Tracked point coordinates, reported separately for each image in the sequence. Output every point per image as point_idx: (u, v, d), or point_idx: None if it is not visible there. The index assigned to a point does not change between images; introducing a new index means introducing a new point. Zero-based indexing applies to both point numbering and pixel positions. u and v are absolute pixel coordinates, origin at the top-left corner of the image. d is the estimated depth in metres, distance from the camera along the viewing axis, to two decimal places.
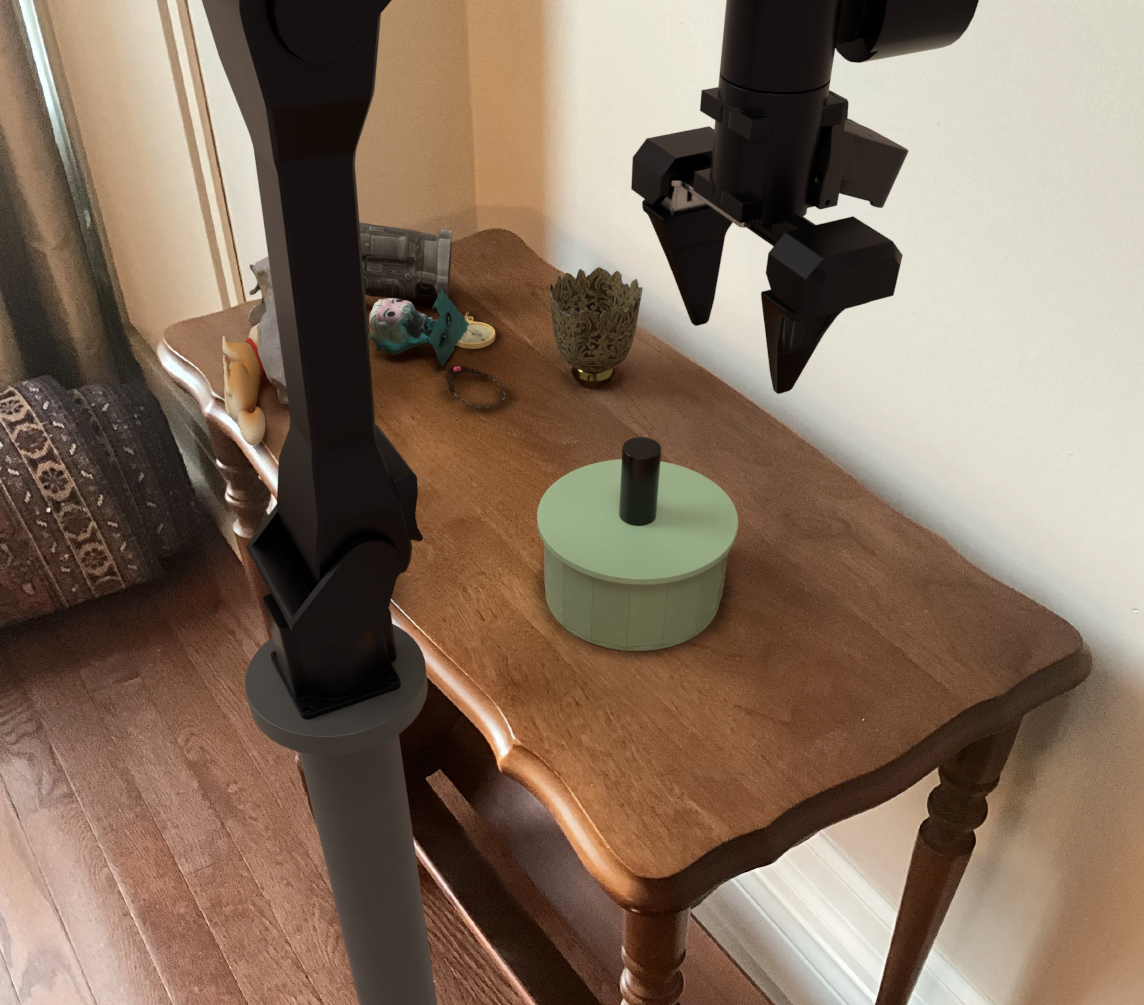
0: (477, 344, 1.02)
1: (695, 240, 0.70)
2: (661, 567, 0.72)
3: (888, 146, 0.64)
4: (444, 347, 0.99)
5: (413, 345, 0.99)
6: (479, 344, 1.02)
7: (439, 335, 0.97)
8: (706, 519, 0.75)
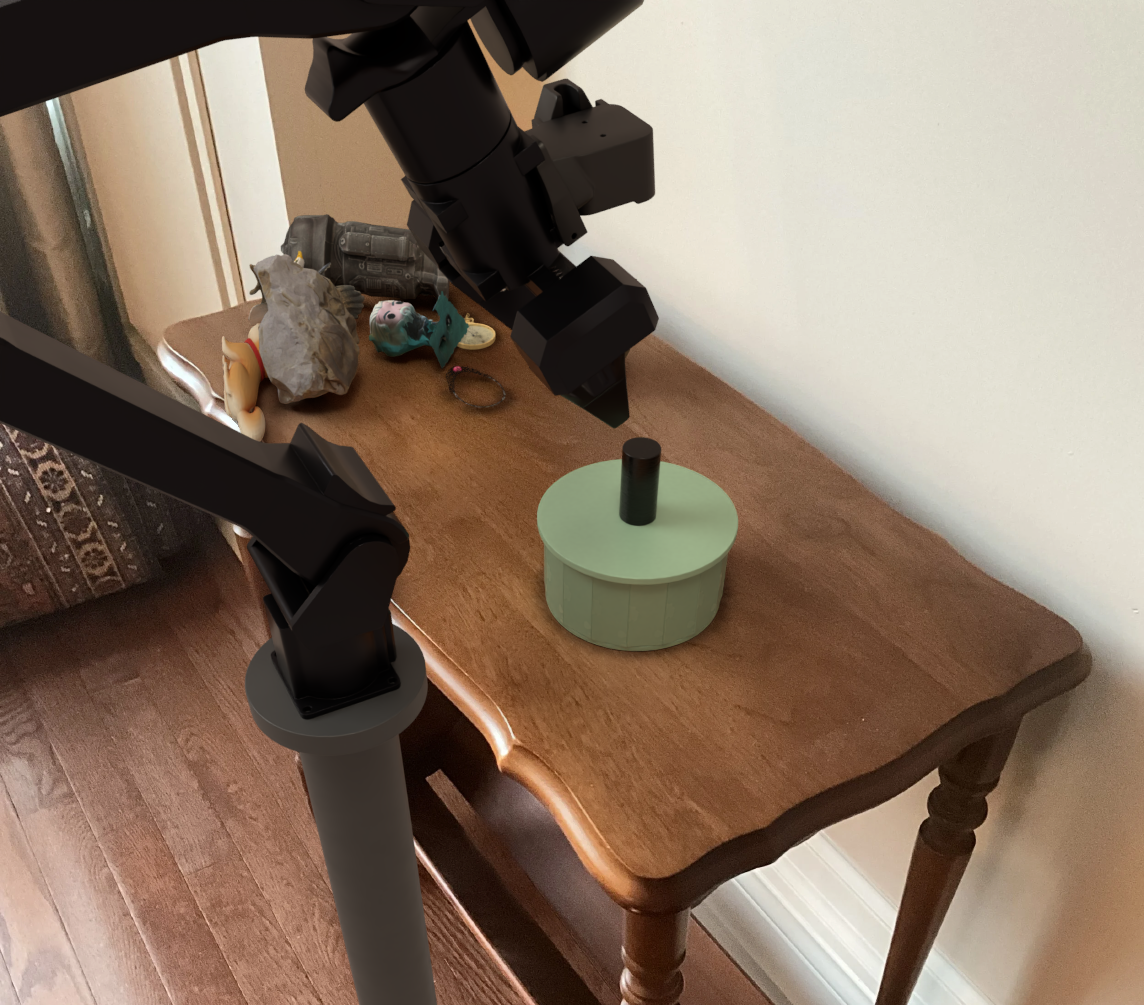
0: (477, 345, 1.02)
1: None
2: (661, 567, 0.72)
3: (620, 145, 0.56)
4: (444, 349, 0.99)
5: (413, 347, 0.99)
6: (479, 345, 1.02)
7: (439, 337, 0.97)
8: (706, 519, 0.75)
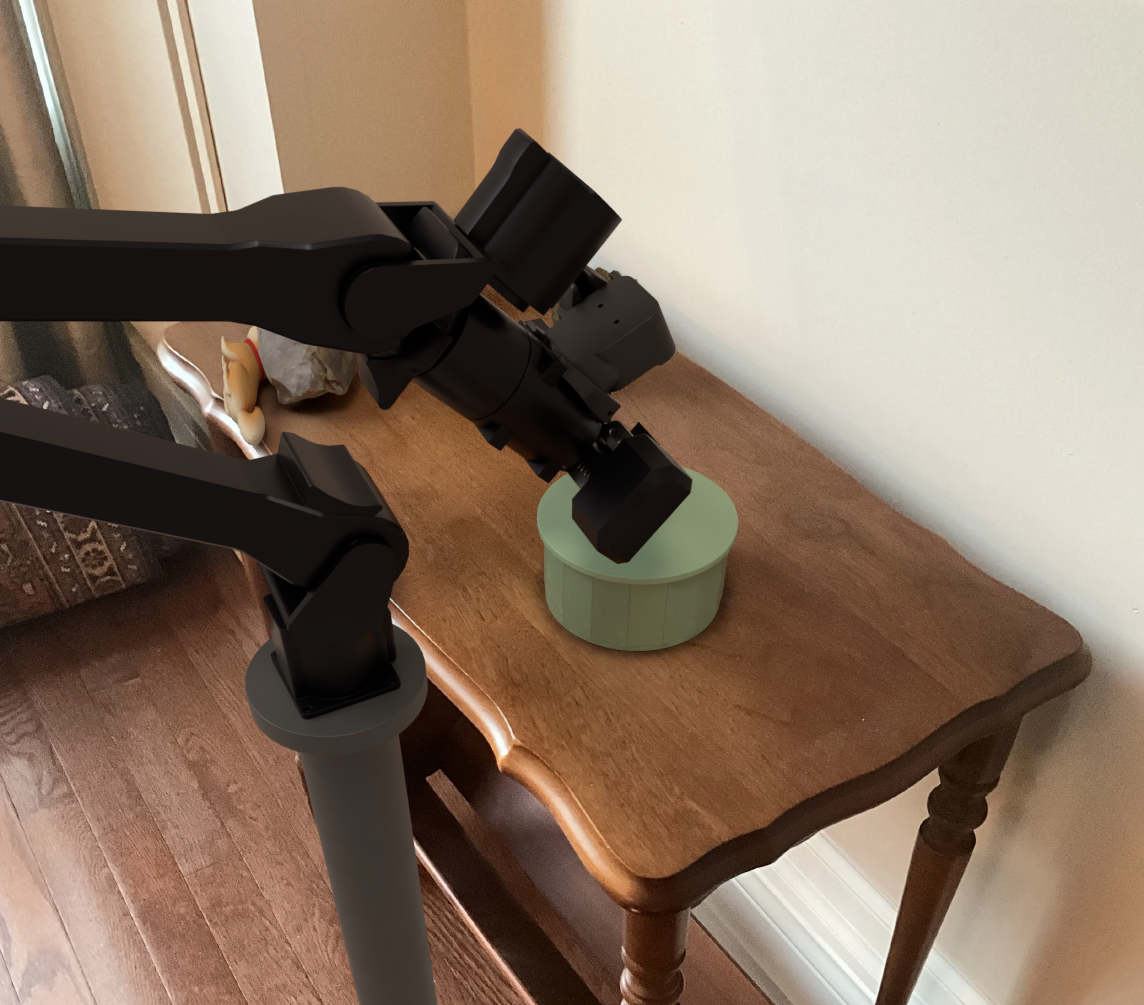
0: None
1: None
2: (661, 567, 0.72)
3: (631, 332, 0.63)
4: None
5: None
6: None
7: None
8: (706, 519, 0.75)
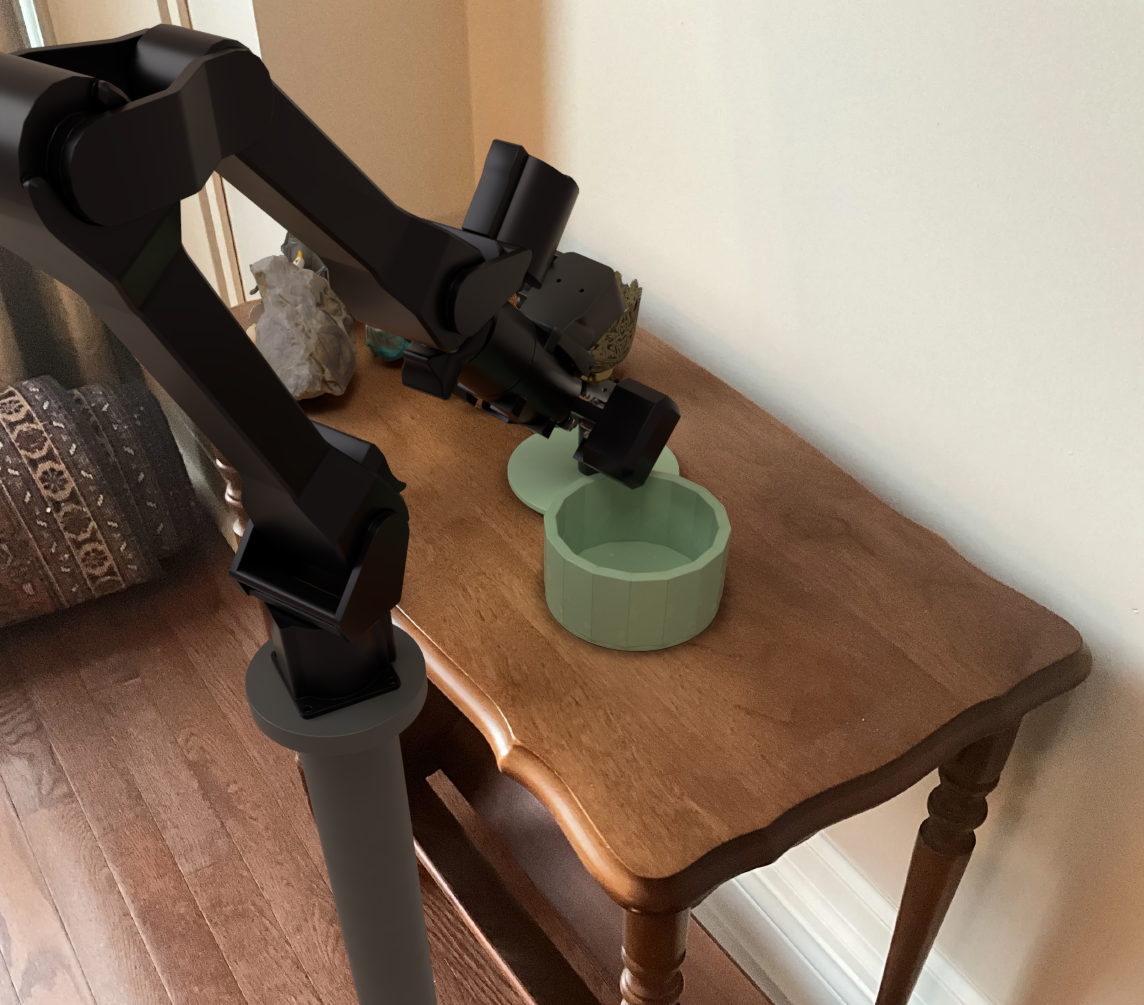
0: None
1: None
2: None
3: (600, 296, 0.75)
4: None
5: None
6: None
7: None
8: None
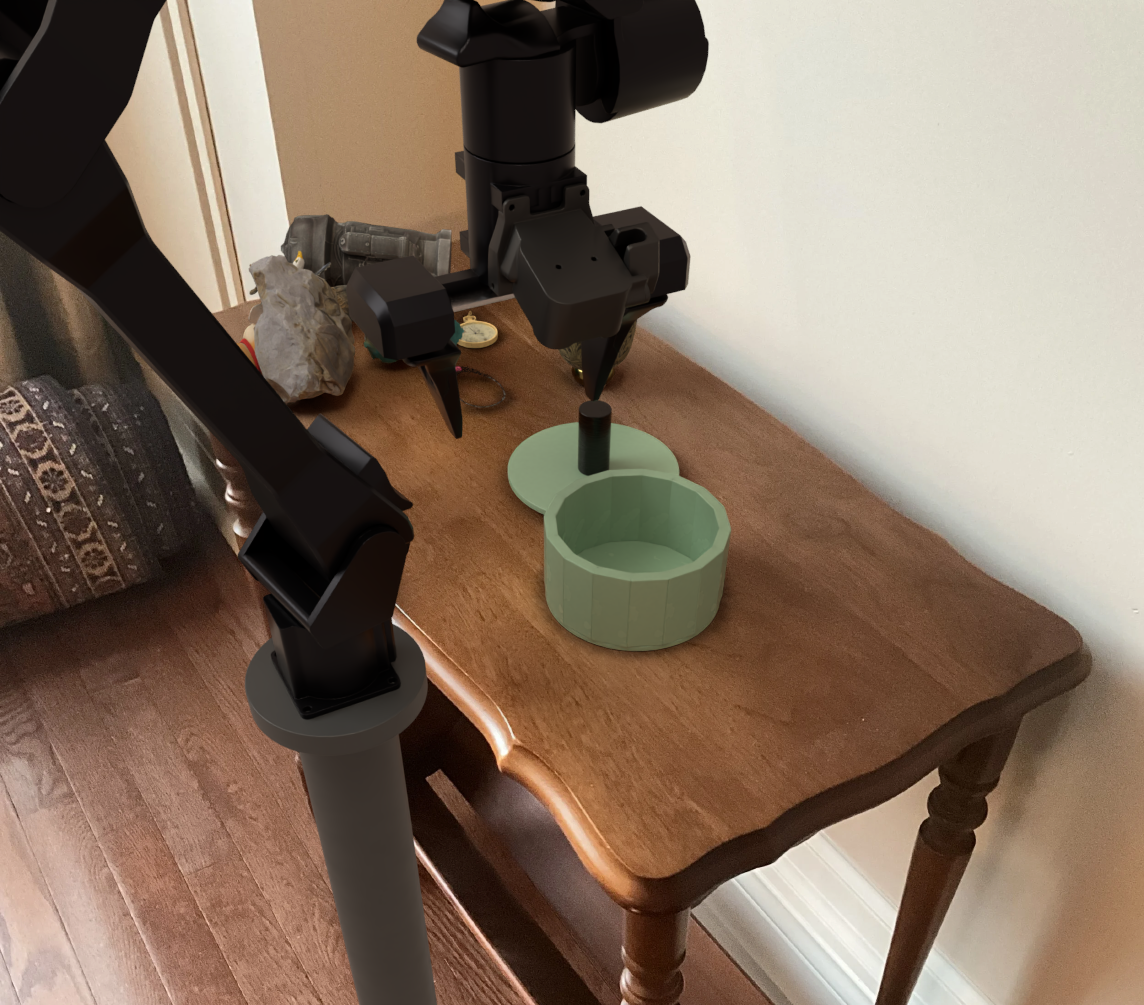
0: (479, 343, 1.02)
1: None
2: None
3: (535, 276, 0.57)
4: None
5: None
6: (481, 343, 1.02)
7: None
8: (648, 458, 0.89)
